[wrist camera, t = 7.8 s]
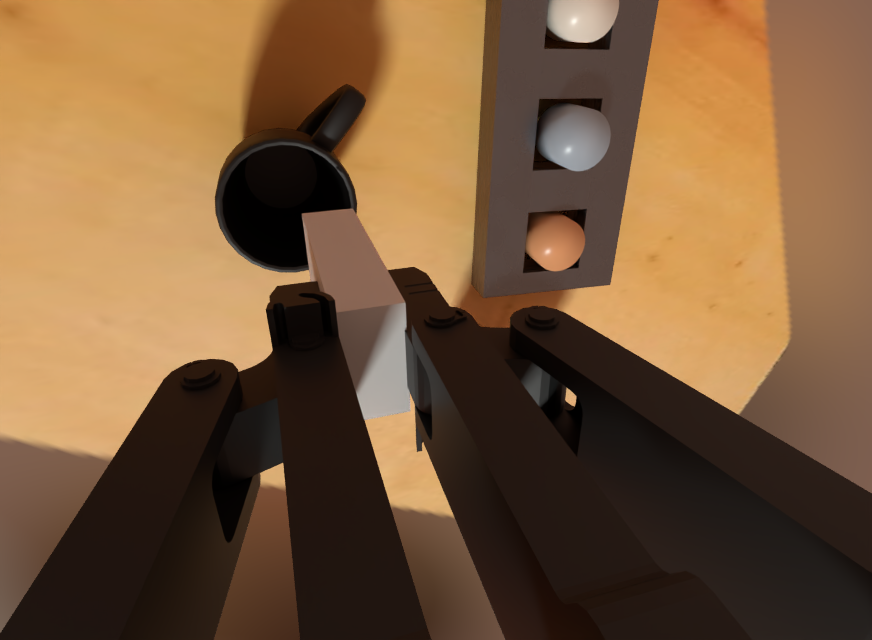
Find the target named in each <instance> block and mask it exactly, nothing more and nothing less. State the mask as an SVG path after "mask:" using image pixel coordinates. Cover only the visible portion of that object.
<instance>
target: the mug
mask: <svg viewBox="0 0 872 640" xmlns="http://www.w3.org/2000/svg"><path fill="white" fill-rule="evenodd" d="M365 102H366V99H365V97H364V95H363V94H361V93H360V92H359V91H358V90H357V89H355V88H354V87H353V86H350V85H348V84H346V85H344V86H342V87H340V88H339V89H338V90H336V91H335V92H334V93H333V94H332V95H330V96H329V97H328V98H327V99H326V100H325V101H324V102H322V103H321V104H320V105H319V106H318V107H317V108H316V109H315V110H314V111H313V112H312V113H311V114H310V115H309V116H308V117H307V118H306V119H305V120H304V121H303V122H302V124H301V125H300V126H299V128H298V129H297V130H293V129H283V128H276V129H269V130H263V131H261V132H258V133H256V134H253V135H251V136H249V137H248V138H246V139H245V140H244V141H242V142H241V143H239V144H238V145H237V146H236V147H235V148H234V150H233V151H232V152H231V153H230V154H229V156H228V157H227V159H226V161H225V163H224V165H223V167H222V169H221V171H220V175H219V180H218V185H217V190H216V194H215V210H216V216H217V219H218V223H219V226H220V229H221V231H222V232H223V234H224V236H225V238H226V240H227V241H228V243H229V244H230V245H231V246H232V247H233V248H234V249H235V250H236V251H237V253H238V254H240V255H241V256H243V257H244V258H245V259H247V260H248V261H249V262H251V263H253V264H255V265H258V266H260V267H262V268H264V269H268V270H272V271H277V272H300V271H305V270H309V265H308V257H307V249H306V242H305V234H304V226H303V219H302V214H303V213H313V212H322V211H332V210H342V209H352V208H353V210H354V211H355V213H356V214H357V200H356V194H355V189H354V186H353V184H352V181H351V179H350V177H349V174H348V173H347V171H346V170H345V168H344V167H343V165H342V164H341V163H340V161H339V160H338V158H337V157H336V155H335V154H334V153H333V150H334V149H335V148H336V146H337V145H338V144H339V142H340V141H341V140H342V138H343V137H344V136H345V134H346V133H347V132H348V130H349V129H350V127H351V126H352V125H353V123H354V122H355V120H356V119H357V117H358V116H359V114H360V113H361V111H362V110H363V108H364V106H365Z"/></svg>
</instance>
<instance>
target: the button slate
mask: <svg viewBox="0 0 872 640" xmlns="http://www.w3.org/2000/svg"><path fill="white" fill-rule="evenodd" d="M610 137H611V131H610V126H609V123H608V121H607V119H606V117H605V116H604V115H603V114H602V113H601V112H599V111H597V110H595V109H591V108H587V107H583V106H579V105H575V104H571V103H558V104H555V105H553V106H551V107H549V108H548V109H547V110H546V111H545V112H544V113H543V114H542V115H541V117H540V118H539V120H538V122H537V129H536V139H535V145H536V147H537V150H538V151H539V153H540V154H541V155H542V156H543V157H544V158H546V159H548V160H550V161H552V162H554V163H556V164H559V165H561V166H563V167H565V168H567V169H569V170H572V171H584V170H587V169H590V168H592V167H593V166H595V165H596V164H597V163H598V162H599V161H600V160H601V159H602V158H603V157H604V155H605V153H606V152H607V149H608V147H609V143H610Z"/></svg>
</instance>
